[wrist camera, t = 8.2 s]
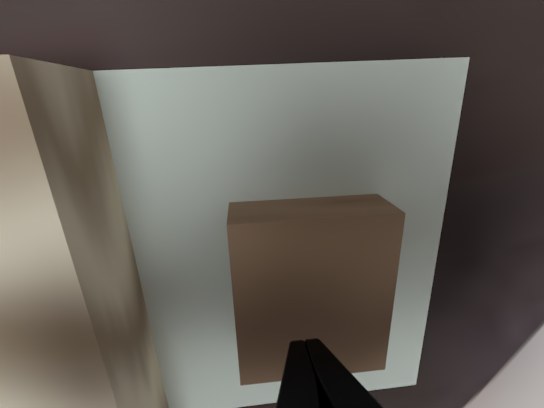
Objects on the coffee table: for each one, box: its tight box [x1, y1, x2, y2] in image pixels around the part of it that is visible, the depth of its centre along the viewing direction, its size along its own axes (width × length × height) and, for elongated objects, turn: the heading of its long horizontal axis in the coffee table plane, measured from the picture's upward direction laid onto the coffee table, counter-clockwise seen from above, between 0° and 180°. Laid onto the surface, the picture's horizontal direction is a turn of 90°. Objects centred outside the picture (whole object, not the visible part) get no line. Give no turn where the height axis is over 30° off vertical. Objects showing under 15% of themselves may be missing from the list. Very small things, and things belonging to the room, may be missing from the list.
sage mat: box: [93, 57, 470, 408], centre depth 13 cm, size 16×13×1 cm
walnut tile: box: [227, 194, 406, 386], centre depth 12 cm, size 7×6×2 cm
